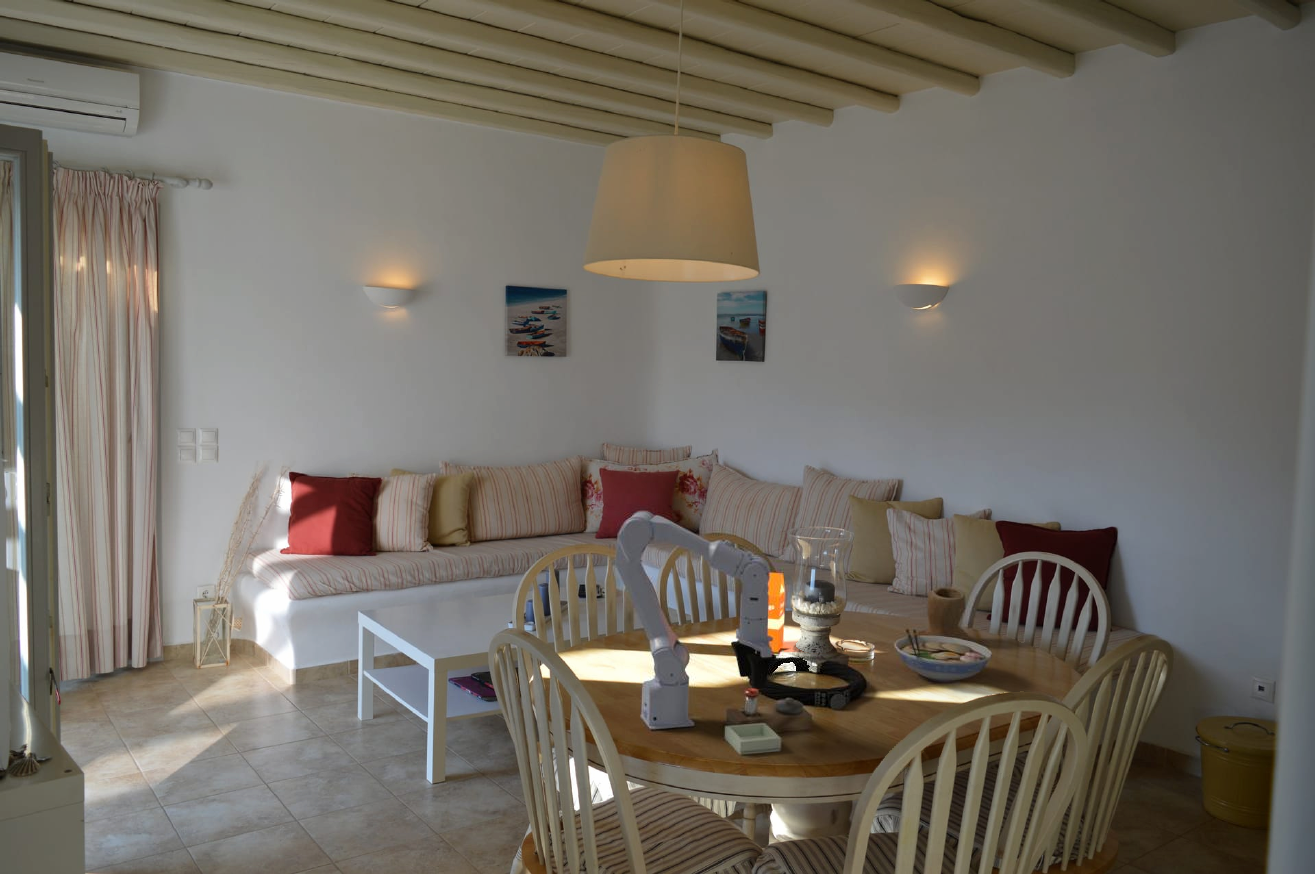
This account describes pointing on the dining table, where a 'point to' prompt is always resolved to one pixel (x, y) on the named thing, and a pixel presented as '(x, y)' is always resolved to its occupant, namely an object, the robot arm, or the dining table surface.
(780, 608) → the orange juice
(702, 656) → the dining table surface
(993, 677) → the dining table surface
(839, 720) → the dining table surface
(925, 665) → the ramen bowl
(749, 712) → the lock pin
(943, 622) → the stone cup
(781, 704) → the block
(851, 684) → the cable lock
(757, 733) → the tray
